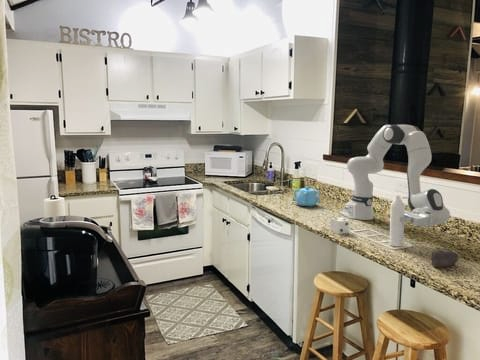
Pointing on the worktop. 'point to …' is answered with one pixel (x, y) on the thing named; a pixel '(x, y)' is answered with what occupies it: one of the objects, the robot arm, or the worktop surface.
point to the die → (339, 225)
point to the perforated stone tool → (443, 258)
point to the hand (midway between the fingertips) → (396, 217)
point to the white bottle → (397, 221)
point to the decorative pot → (306, 197)
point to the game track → (380, 241)
